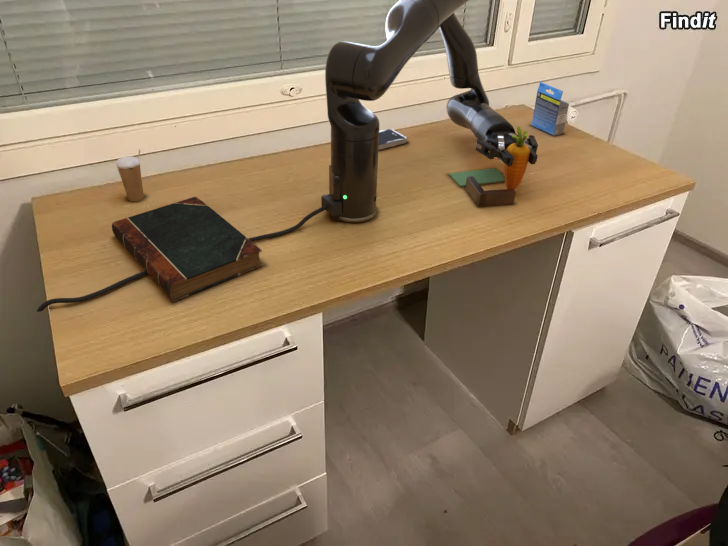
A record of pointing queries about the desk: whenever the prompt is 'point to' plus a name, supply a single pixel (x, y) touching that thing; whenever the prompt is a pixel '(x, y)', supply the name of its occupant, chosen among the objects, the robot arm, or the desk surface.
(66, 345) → the desk surface
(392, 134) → the smartphone
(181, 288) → the book
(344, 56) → the robot arm
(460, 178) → the rag
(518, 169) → the carrot
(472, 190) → the corner stop
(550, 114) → the label tape box
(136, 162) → the milkshake
